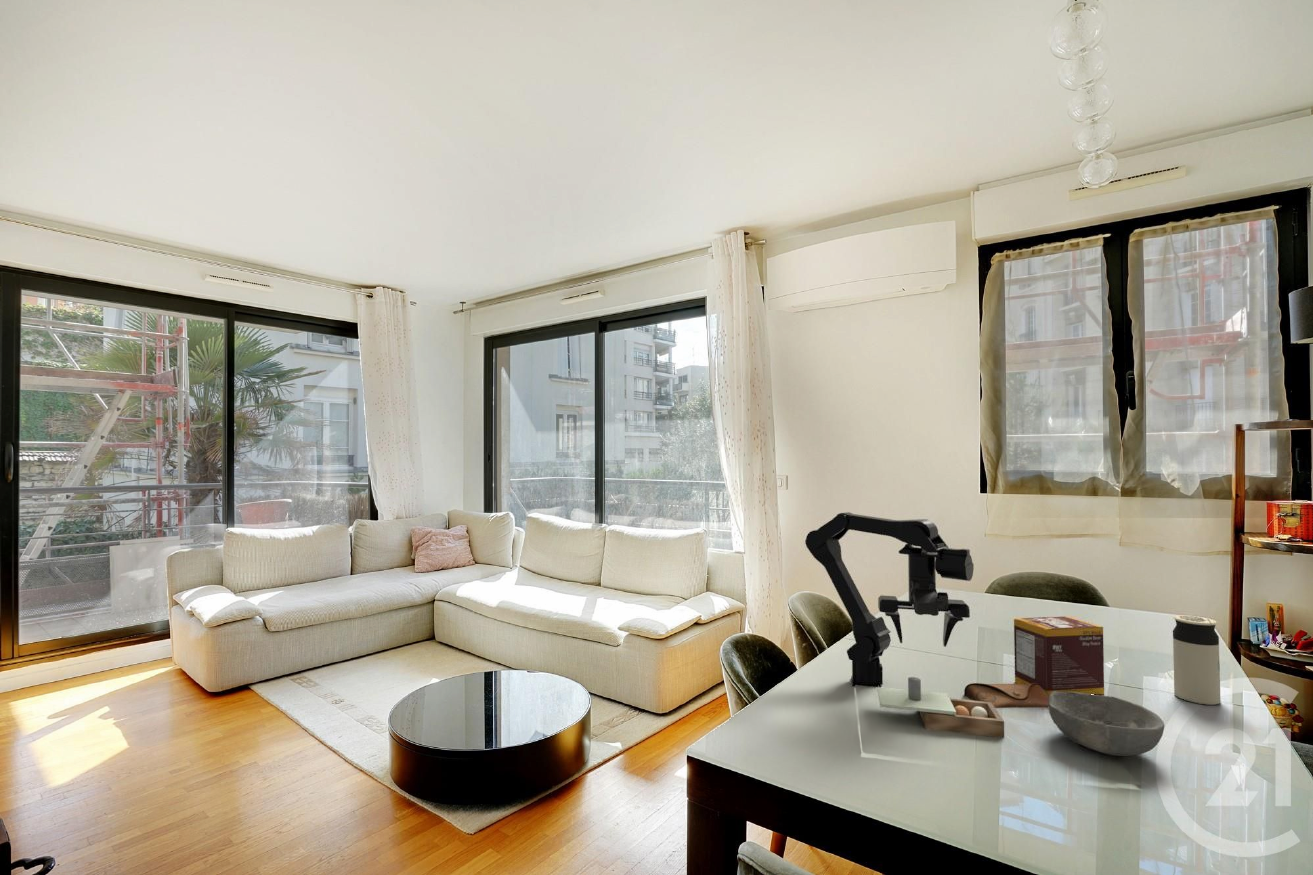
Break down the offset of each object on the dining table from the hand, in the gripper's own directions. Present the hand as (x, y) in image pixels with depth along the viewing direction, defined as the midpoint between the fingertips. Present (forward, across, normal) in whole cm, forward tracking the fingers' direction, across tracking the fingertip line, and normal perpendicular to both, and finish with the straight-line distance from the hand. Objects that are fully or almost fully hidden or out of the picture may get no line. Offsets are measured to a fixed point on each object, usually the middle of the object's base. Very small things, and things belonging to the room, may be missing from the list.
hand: (922, 644), depth 143 cm
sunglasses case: (+13, +19, +2) cm, 23 cm away
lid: (+8, -3, -14) cm, 17 cm away
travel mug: (+12, +60, +17) cm, 64 cm away
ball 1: (+11, +6, -13) cm, 18 cm away
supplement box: (+12, +32, +16) cm, 38 cm away
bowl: (+12, +29, -18) cm, 36 cm away
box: (+12, +5, -14) cm, 19 cm away
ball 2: (+11, +9, -12) cm, 19 cm away
